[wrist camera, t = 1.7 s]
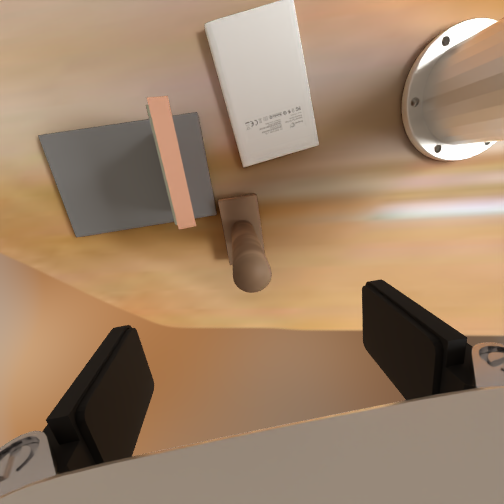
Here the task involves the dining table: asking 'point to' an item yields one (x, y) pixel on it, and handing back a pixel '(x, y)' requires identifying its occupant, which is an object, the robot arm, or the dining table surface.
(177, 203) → the tile
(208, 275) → the dining table surface
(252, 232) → the tool
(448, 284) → the dining table surface
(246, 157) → the external hard drive
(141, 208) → the mat
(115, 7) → the dining table surface
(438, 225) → the dining table surface
